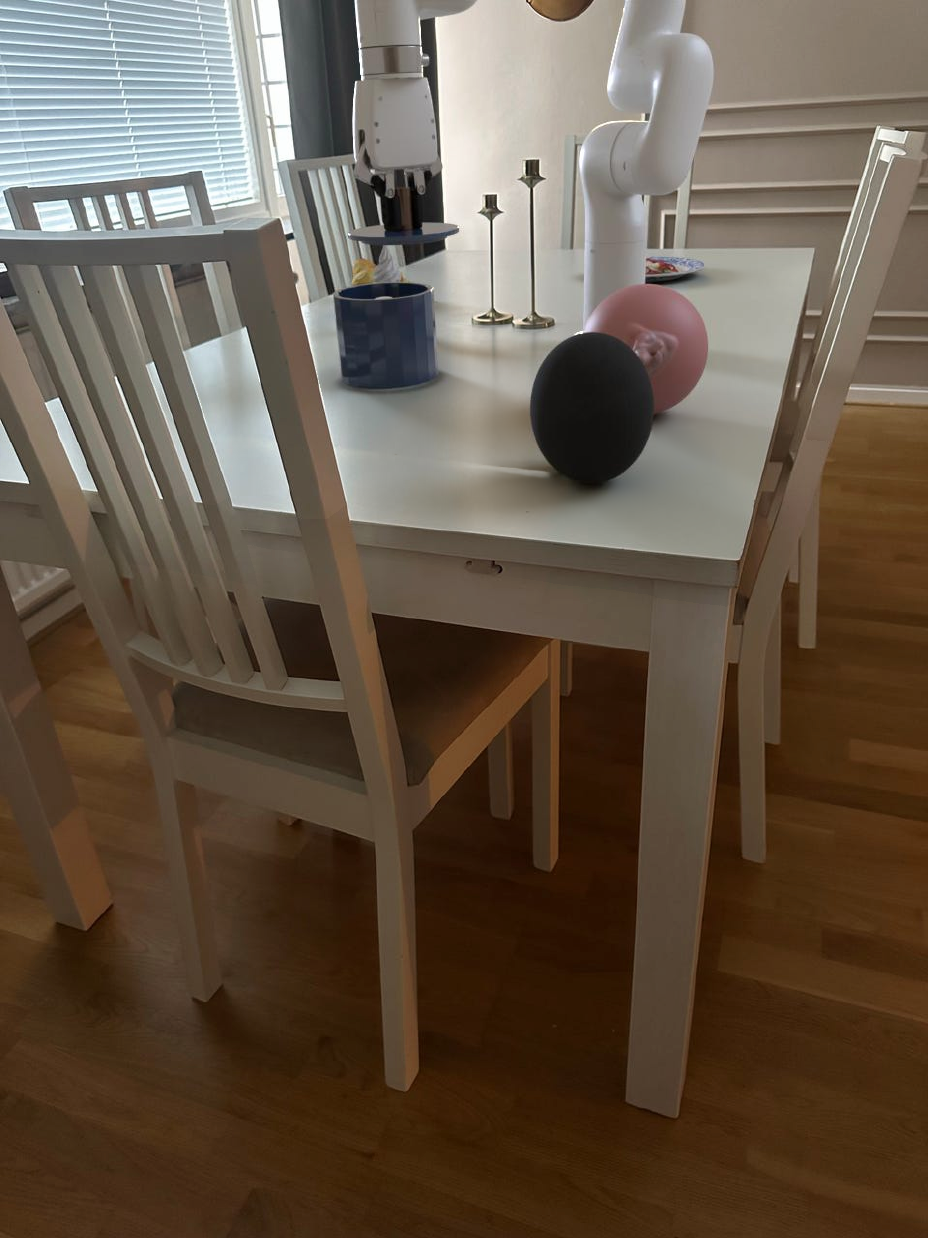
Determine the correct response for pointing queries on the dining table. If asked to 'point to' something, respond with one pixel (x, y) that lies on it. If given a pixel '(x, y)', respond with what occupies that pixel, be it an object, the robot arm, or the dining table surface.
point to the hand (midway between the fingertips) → (403, 227)
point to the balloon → (657, 337)
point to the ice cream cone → (386, 268)
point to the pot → (386, 334)
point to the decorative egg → (592, 407)
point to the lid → (404, 227)
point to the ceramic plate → (670, 268)
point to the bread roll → (366, 272)
